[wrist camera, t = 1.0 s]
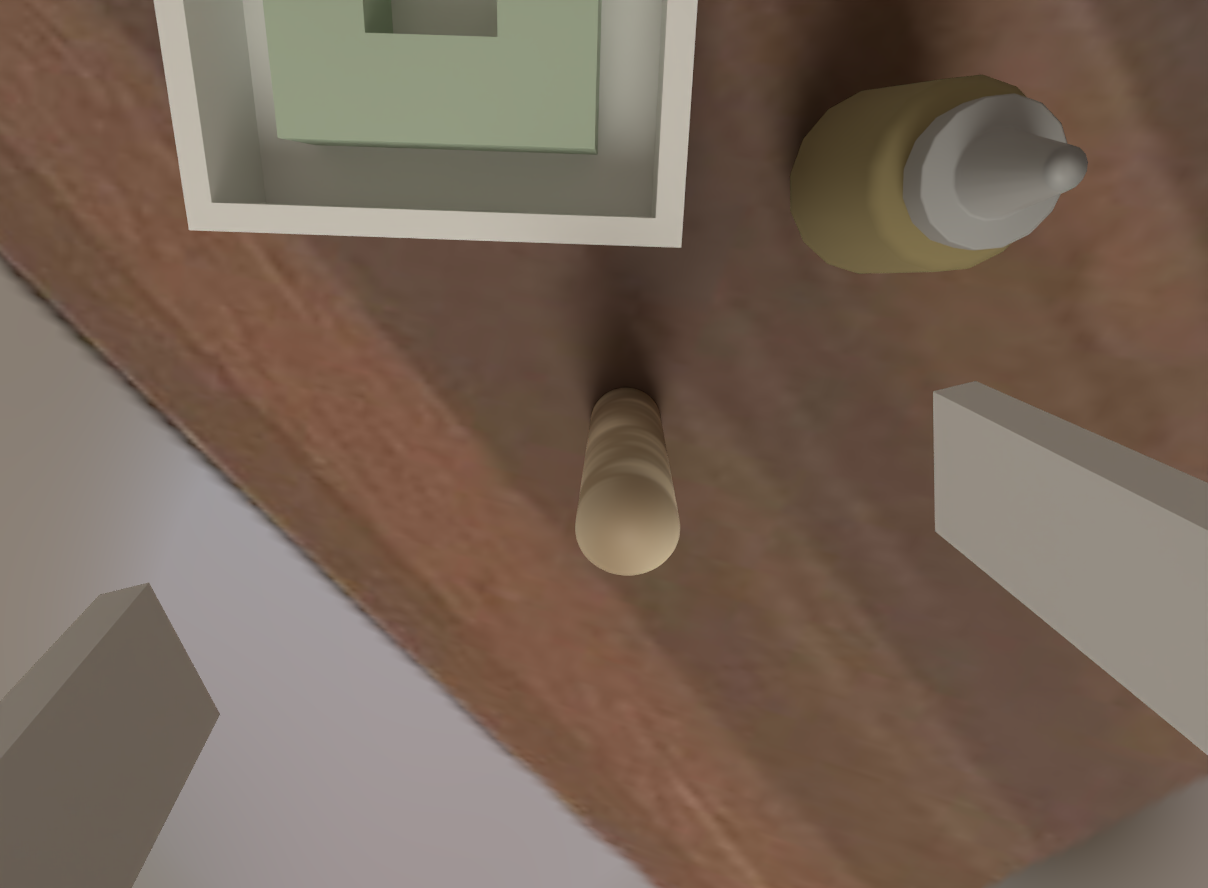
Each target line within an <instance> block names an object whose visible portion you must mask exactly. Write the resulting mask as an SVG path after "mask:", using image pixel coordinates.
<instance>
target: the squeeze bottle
mask: <svg viewBox="0 0 1208 888" xmlns="http://www.w3.org/2000/svg"><path fill="white" fill-rule="evenodd" d="M1087 164H1088V161H1087V158H1086V154H1085V153H1084V152H1083V151H1082V150H1081V149H1080V148H1079V147H1076V146H1073V145H1070V144H1067V141H1066V137H1065V134H1064V131H1063V127H1062V124H1061V123H1060V121H1059V120H1058V119H1057V118H1056V117H1055V116H1054V115H1053V114H1052V113H1051V112H1050V111H1049V110H1048V109H1047V108H1046V106H1045V105H1044V104H1043V103H1041V102H1038V101H1035V100H1033V99H1030V98H1027V97H1026V96H1025V95H1024V94H1023V93H1022V92H1021V91H1020V90H1019V89H1018V87H1016V86H1013V85H1010V84H1008V83H1005V82H1002V81H999V80H996V79H993V78H990V77H988V76H985V75H975V76H966V77H957V78H948V79H940V80H933V81H926V82H919V83H912V84H905V85H898V86H891V87H884V88H877V89H870V90H863V91H860V92H859V93H857V94H855V95H853V96H851V97H850V98H848V99H846V100H844V101H842V102H841V103H839V104H837V105H835V106H833V107H832V108H830V109H828V110H827V111H826V113H825V114H824V115H823V116H822V117H821V119H820V120H819V121H818V122H817V123H816V124H815V126H814V127H813V128H812V129H811V130H810V132H809V133H808V134H807V135H806V136H805V137H804V139H803V141H802V144H801V146H800V149H799V152H798V155H797V157H796V160H795V163H794V165H793V168H792V171H791V174H790V211H791V213H792V216H793V218H794V220H795V223H796V225H797V227H798V230H799V232H800V234H801V237H802V239H803V241H804V243H805V244H807V245H808V246H809V247H810V248H811V249H812V250H813V251H814V252H815V253H816V254H817V255H819V256H820V257H821V258H822V259H823V260H824V261H825V262H826V263H827V264H830V265H833V266H836V267H839V268H842V269H845V270H849V271H852V272H855V273H858V274H863V273H908V272H938V271H948V270H959V269H969V268H971V267H973V266H975V265H977V264H979V263H981V262H983V261H985V260H987V259H989V258H991V257H993V256H995V255H997V254H999V253H1001V252H1003V251H1004V250H1005V249H1006V248H1007V247H1008V246H1009V245H1010V244H1011V243H1012V242H1014V241H1016V240H1018V239H1020V238H1023V237H1025V236H1027V235H1029V234H1030V233H1031V232H1032V231H1033V230H1034V229H1035V228H1036V227H1037V226H1038V225H1039V224H1040V223H1041V222H1042V221H1043V220H1044V219H1045V218H1046V217H1047V216H1048V215H1049V214H1050V213H1051V212H1052V210H1053V208H1054V206H1055V204H1056V202H1057V200H1058V198H1059V196H1060V194H1061V193H1064V192H1066V191H1068V190H1070V189H1072V188H1074V187H1076V186H1077V185H1078V184H1079V183H1080V182H1081V181H1082V179H1083V177H1084V175H1085V173H1086V171H1087Z"/></svg>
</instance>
